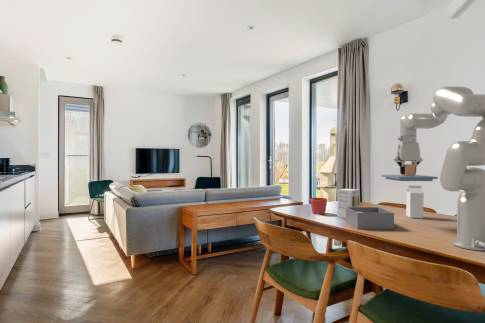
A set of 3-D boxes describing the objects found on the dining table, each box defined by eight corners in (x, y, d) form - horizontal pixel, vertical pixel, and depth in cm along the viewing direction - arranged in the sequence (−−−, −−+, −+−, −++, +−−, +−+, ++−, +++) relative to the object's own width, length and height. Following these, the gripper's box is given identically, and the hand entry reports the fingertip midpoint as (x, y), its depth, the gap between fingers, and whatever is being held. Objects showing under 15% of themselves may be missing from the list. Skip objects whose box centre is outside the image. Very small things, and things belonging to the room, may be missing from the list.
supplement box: (351, 219, 173) (351, 190, 173) (337, 217, 180) (337, 189, 180) (359, 217, 179) (359, 189, 179) (345, 215, 186) (345, 188, 186)
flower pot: (309, 214, 188) (309, 199, 188) (310, 211, 199) (310, 197, 198) (326, 215, 185) (327, 200, 185) (327, 212, 195) (327, 197, 195)
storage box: (393, 229, 150) (394, 213, 150) (357, 228, 151) (357, 212, 150) (378, 221, 168) (378, 207, 168) (345, 221, 169) (346, 207, 168)
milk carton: (423, 218, 176) (423, 186, 176) (410, 218, 178) (410, 186, 178) (418, 216, 183) (419, 185, 183) (406, 215, 185) (406, 185, 185)
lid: (437, 181, 149) (437, 164, 149) (399, 181, 149) (399, 164, 149) (415, 178, 168) (415, 164, 168) (381, 178, 168) (381, 164, 168)
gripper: (395, 139, 155) (395, 174, 155) (428, 139, 155) (428, 174, 155) (388, 140, 162) (388, 173, 162) (420, 140, 162) (420, 173, 162)
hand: (408, 173), depth 158 cm, fingers closed on lid, 5 cm apart
